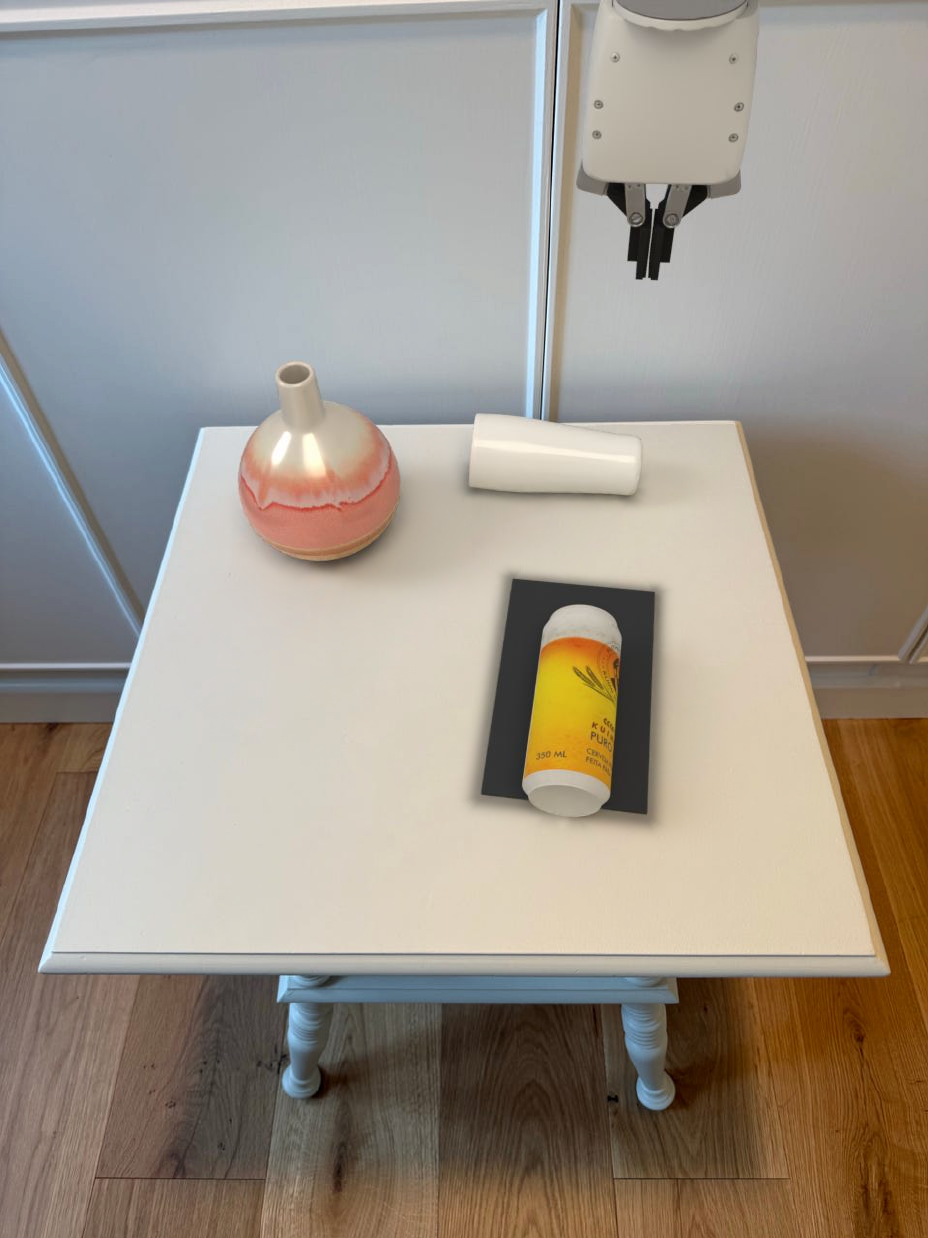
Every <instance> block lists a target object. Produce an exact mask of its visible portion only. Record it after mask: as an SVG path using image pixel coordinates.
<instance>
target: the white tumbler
mask: <svg viewBox="0 0 928 1238" xmlns="http://www.w3.org/2000/svg"><path fill="white" fill-rule="evenodd" d="M471 435H472V437H471V443H470V456H469V467H468V486H469V487H470V488H476V489H483V490H490V491H498V492H511V493H547V494H549V493H555V494H556V493H557V494H605V495H617V496H632V495H633V494H635V492H636V491H637V490H638V486H639V483H640V478H641V473H642V465H643V456H644V446H643V445H644V444H643V440H642V439H641V438H640V437H639V436H638V435H635V434H627V433H626V434H624V433H615V432H610V431H604V430H598V429H592V428H587V427H582V426H577V425H576V426H575V425H571V424H565V423H560V422H554V421H549V420H543V419H539V418H533V417H527V416H520V415H512V414H502V413H486V412H485V413H483V412H477V413H476V414H475V416H474V420H473V428H472V434H471Z"/></svg>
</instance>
